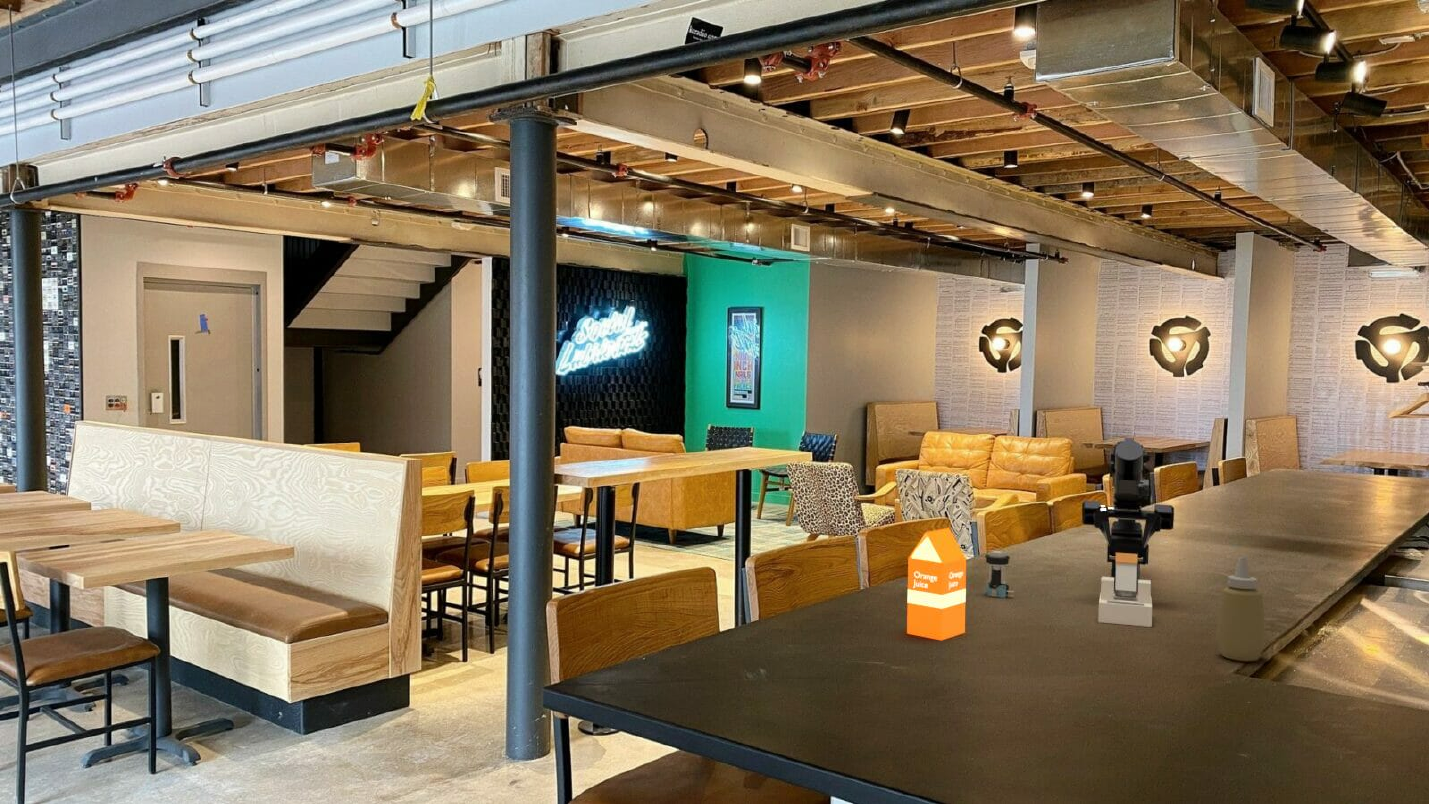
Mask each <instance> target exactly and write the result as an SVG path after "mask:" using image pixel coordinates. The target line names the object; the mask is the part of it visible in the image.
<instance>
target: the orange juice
mask: <svg viewBox="0 0 1429 804" xmlns="http://www.w3.org/2000/svg"><path fill="white" fill-rule="evenodd" d="M907 560H908V562H907V563H908V564H907V565H908V567H907V568H908V569H907V597H906V598H907V601H906V602H907V611H906V612H907V617H906V619H907V620H906V622H907V623H906V634H908V635H913V636H918V637H922V638H928V639H932V640H937V641H944V640H947V639H950V638H954V637H955V636H958V635H961V634H965V633H966V601H967V599H966V597H967V588H966V583H967V582H966V581H967V579H966V578H967V576H966V575H967V557H966V556H965V554H964V553H963V551H962V549H961V547H960V545H959V544H958V541H957V539H956V538H955V536H954V534H953V533H952V531H951V529H950V527H946V528H940V529H935V530H930V531H926V532H925V533H924V534H923V536H922V537H921V539H920V541H919V542H918V543H917V545H916V546H915V547H914V549H913V551H912V552H911V554H910V555H909V556H908V559H907Z"/></svg>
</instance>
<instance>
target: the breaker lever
mask: <svg viewBox="0 0 1429 804" xmlns="http://www.w3.org/2000/svg"><path fill="white" fill-rule="evenodd" d="M1137 555H1138V554H1130V553H1116V583H1115V589H1114V594H1115V596H1117V597H1129V598H1136V595H1137V590H1136V579H1137V559H1138V558H1137Z"/></svg>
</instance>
